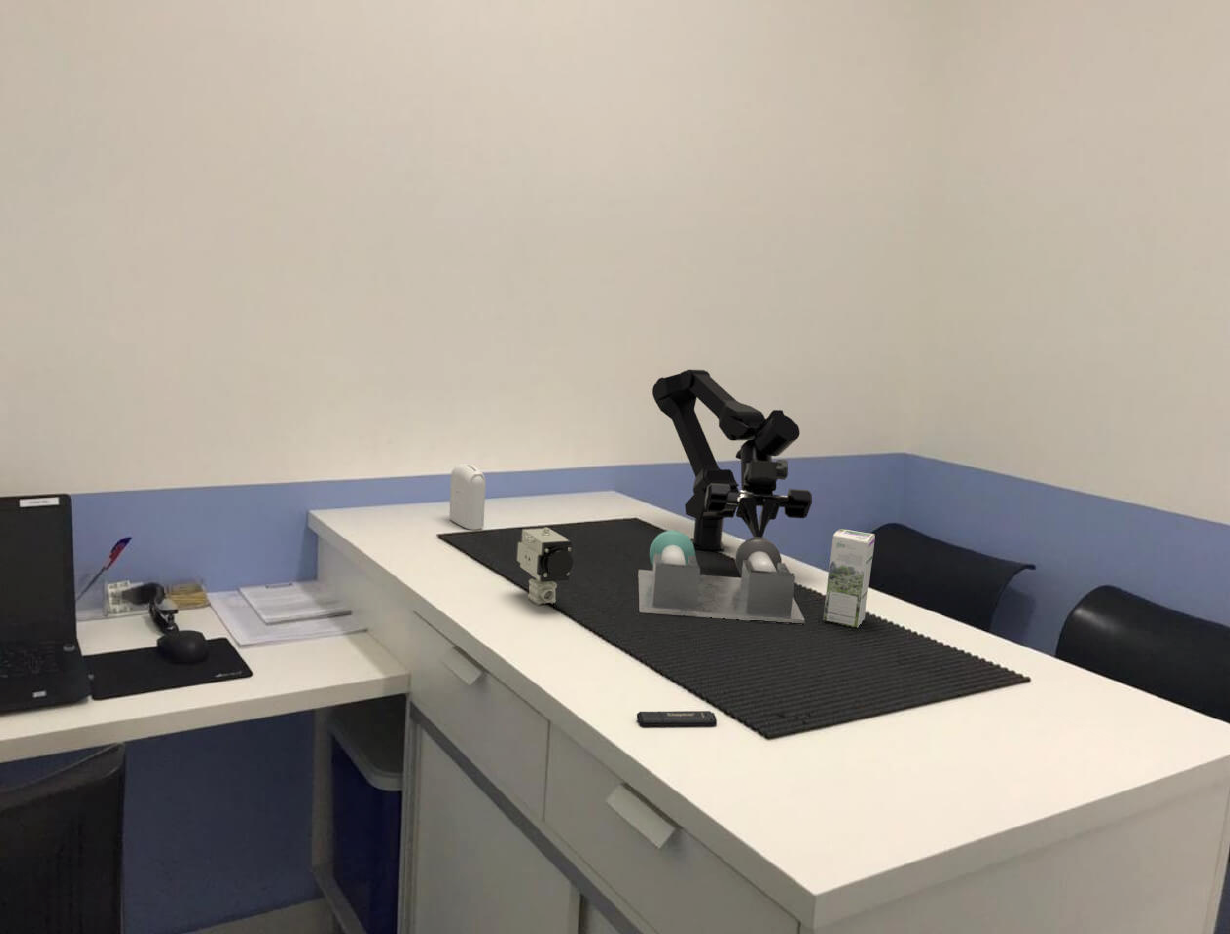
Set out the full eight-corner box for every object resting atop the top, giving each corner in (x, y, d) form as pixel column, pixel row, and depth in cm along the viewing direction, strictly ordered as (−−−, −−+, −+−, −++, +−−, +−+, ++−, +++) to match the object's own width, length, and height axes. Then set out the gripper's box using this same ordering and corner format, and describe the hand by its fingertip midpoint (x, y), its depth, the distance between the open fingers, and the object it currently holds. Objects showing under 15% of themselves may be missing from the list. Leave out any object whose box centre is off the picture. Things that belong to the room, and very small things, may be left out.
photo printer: (446, 519, 214) (449, 460, 211) (465, 518, 216) (468, 460, 214) (466, 531, 205) (469, 470, 203) (486, 530, 207) (489, 469, 205)
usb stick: (639, 730, 121) (640, 718, 120) (634, 720, 123) (635, 708, 123) (717, 730, 122) (718, 717, 122) (711, 720, 125) (712, 708, 125)
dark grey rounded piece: (733, 578, 182) (737, 535, 180) (777, 581, 182) (781, 538, 180) (739, 597, 170) (744, 552, 169) (787, 601, 170) (792, 555, 169)
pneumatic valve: (539, 589, 171) (544, 518, 168) (570, 611, 161) (576, 536, 158) (508, 592, 168) (512, 520, 166) (538, 614, 158) (543, 538, 156)
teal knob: (648, 572, 182) (651, 528, 180) (692, 575, 182) (696, 532, 180) (649, 591, 170) (653, 545, 169) (696, 594, 170) (700, 548, 169)
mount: (638, 574, 184) (641, 533, 183) (784, 585, 184) (788, 545, 183) (639, 612, 163) (643, 566, 161) (804, 624, 163) (809, 579, 161)
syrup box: (865, 619, 168) (876, 533, 165) (857, 629, 162) (868, 540, 160) (830, 612, 170) (840, 527, 167) (822, 622, 165) (832, 534, 162)
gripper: (711, 439, 185) (712, 512, 176) (815, 446, 185) (821, 520, 176) (704, 474, 194) (704, 546, 185) (803, 481, 194) (808, 553, 185)
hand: (759, 540), depth 182 cm, fingers closed
